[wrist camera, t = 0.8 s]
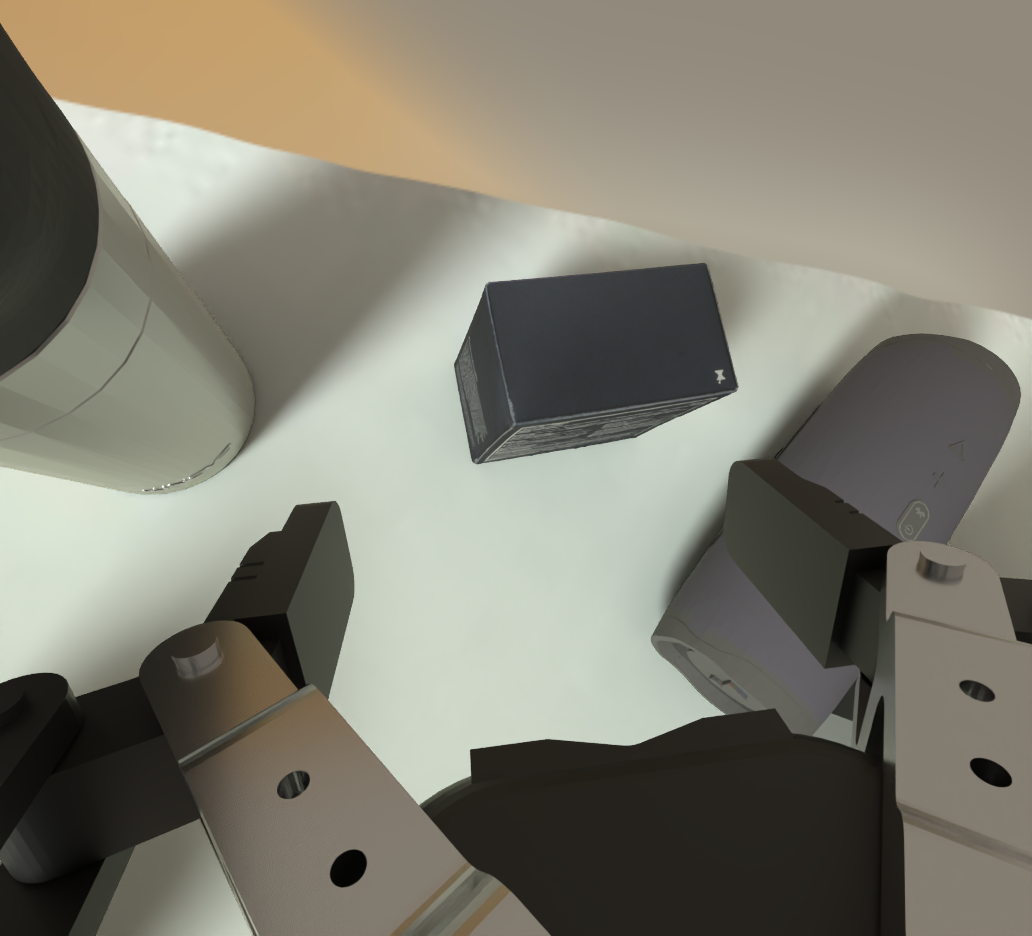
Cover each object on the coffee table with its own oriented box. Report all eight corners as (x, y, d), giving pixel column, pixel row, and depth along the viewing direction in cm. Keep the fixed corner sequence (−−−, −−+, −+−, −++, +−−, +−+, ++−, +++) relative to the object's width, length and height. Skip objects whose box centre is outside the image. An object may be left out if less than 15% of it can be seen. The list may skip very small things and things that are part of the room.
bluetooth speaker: (720, 721, 34) (858, 793, 24) (611, 615, 33) (708, 645, 23) (906, 454, 39) (1077, 426, 30) (817, 359, 39) (963, 298, 29)
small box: (616, 336, 35) (713, 253, 25) (639, 438, 35) (747, 395, 25) (449, 356, 33) (483, 272, 22) (471, 467, 32) (515, 433, 22)
